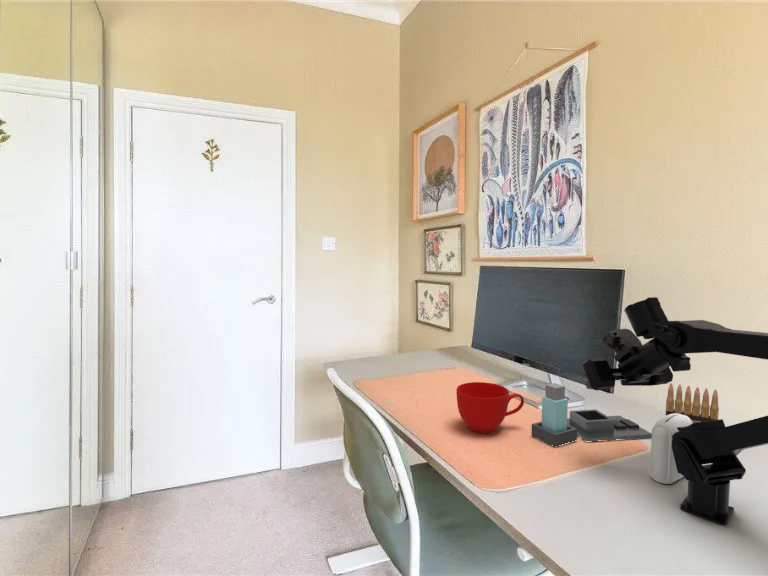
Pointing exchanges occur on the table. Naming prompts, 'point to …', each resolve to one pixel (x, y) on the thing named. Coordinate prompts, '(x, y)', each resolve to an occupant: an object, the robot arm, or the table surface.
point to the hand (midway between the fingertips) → (604, 384)
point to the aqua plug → (554, 408)
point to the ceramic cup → (484, 405)
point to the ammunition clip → (689, 406)
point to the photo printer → (665, 448)
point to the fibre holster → (554, 435)
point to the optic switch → (604, 426)
